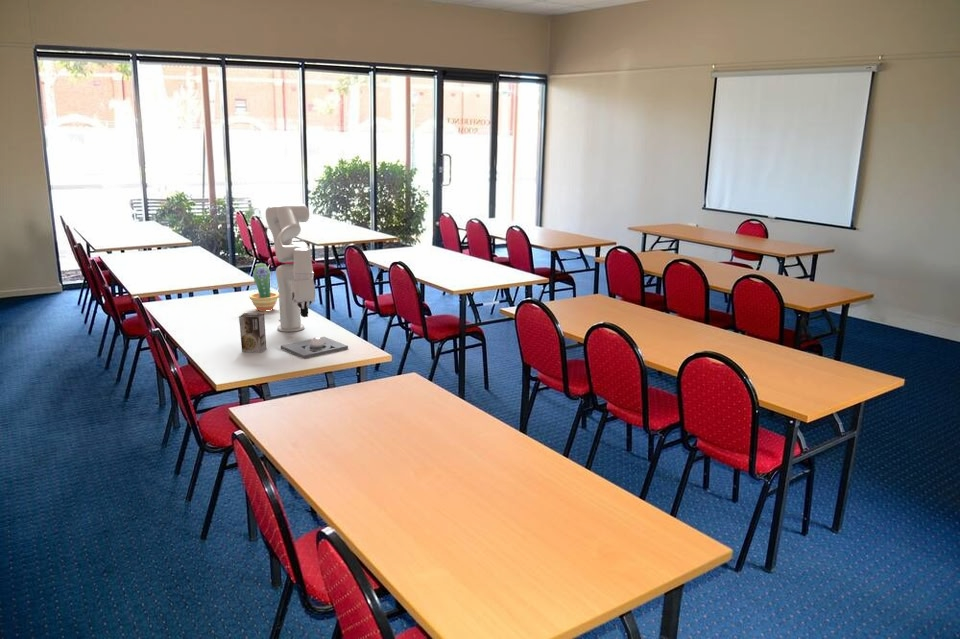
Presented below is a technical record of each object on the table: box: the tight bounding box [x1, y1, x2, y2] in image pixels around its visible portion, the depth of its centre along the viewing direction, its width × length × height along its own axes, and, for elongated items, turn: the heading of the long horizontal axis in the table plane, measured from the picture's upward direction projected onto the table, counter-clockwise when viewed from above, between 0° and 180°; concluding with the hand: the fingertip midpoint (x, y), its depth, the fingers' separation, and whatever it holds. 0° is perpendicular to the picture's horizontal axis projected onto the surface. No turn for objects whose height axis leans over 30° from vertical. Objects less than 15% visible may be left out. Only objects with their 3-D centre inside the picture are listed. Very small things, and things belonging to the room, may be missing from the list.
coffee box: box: [238, 312, 267, 353], centre depth 319 cm, size 9×6×16 cm
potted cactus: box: [248, 263, 279, 311], centre depth 390 cm, size 15×15×25 cm
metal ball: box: [310, 336, 324, 349], centre depth 321 cm, size 6×6×6 cm
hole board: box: [280, 336, 349, 360], centre depth 324 cm, size 20×22×2 cm
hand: (304, 316), depth 326 cm, fingers closed
